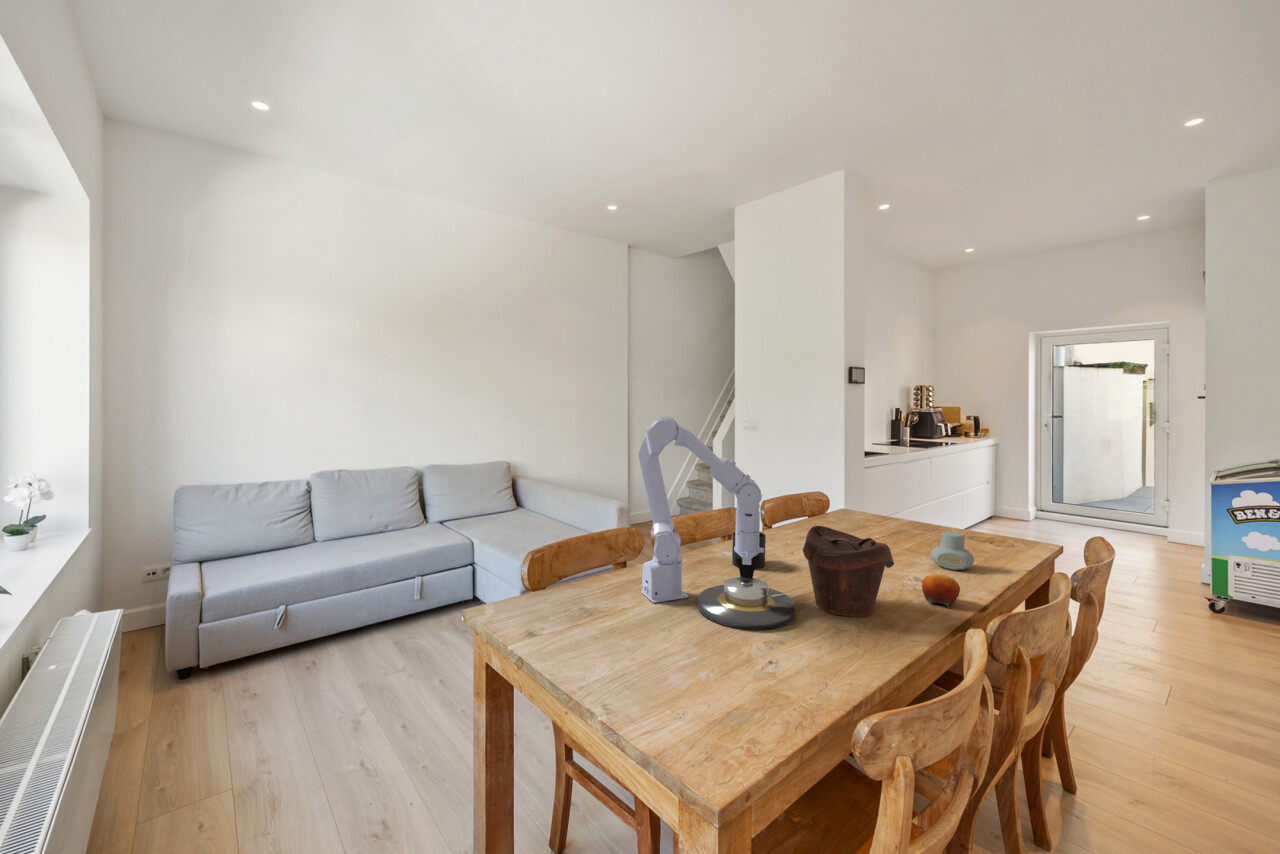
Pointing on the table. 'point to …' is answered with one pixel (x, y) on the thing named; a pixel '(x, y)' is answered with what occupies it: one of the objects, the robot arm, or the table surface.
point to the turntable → (746, 610)
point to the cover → (746, 592)
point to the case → (845, 570)
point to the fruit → (940, 589)
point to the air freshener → (952, 552)
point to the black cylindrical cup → (761, 555)
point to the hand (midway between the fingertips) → (746, 585)
